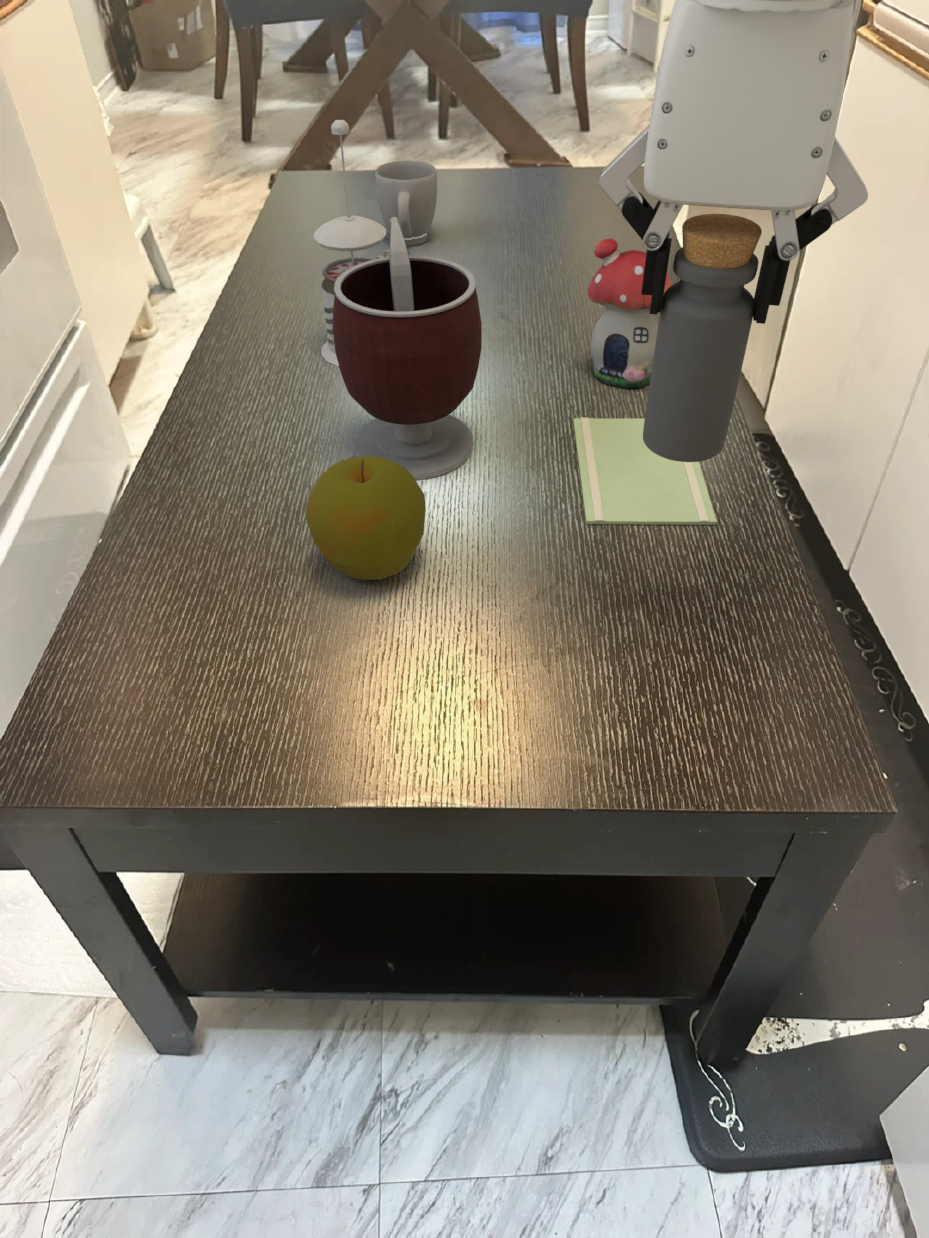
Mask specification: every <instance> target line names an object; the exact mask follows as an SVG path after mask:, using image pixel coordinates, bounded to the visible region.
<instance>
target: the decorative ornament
mask: <svg viewBox="0 0 929 1238" xmlns="http://www.w3.org/2000/svg"><path fill="white" fill-rule="evenodd" d="M618 246H619V243H618V241H617V240H615V238H605V239H602V240H601V241H599V242H598V243H597V245H596V246H595V248H594V251H593V253H594V256H595V257H596V258H598V259H601V260H602V265H601V266H600V267H599V268H598V270H597V271H596V272H595V274H594V275H593V277H592V279H590V282H589V284H588V286H587V296H588V299H589V300H590V301H591V303H595V304H597V305H598V304H599V305H602V306H603V307H605V311H604V312H603V314H602V315H601V317H600V318H599V319H598V321H597V322H596V325H595V327H594V329H593V332H592V334H591V335H592V336H591V341H590V350H591V356H592V360H593V361H592V362H593V376H594V377H595V378H597V379H598V380H600V382H603V383H604V384H606V385H609V386H613V387H617V388H621V389H627V390H628V389H639V388H641V389H642V388H643V387H645V386H647V385H650V378H651V372H652V365H653V358H654V351H655V344H656V338H657V331H658V324H657V322H656V320H655V318H654V316H653V314H650V306H651V299H652V295H641V292H642V284H643V276H644V269H645V261H646V253H647V252H645V251H643V250H637V249H630V250H626V251H623V252H620V251H618ZM672 285H673V283H672V281H671V277H670V275H669V273H668V272H667V275H666V282H665V289H664V293H665V291H666V290H667V289H668V288H669V287H670V286H672Z"/></svg>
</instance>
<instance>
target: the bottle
mask: <svg viewBox="0 0 929 1238" xmlns="http://www.w3.org/2000/svg"><path fill="white" fill-rule="evenodd" d="M761 227H762V226H760V225H759V224H758V223H756V222H755V221H754V220H751V219H748V218H746V217H743V216H739V215H735V214H727V213H705V214H698V215H695V216H691V217H689V218H688V219H686V220H684V222H682V226H681V229H682V234H681V235H682V247H680V248H678V250H677V251H676V252H675V254H674V258H673V264H672V270H673V273H674V275H675V276H677V278H679V281H677V282H675V283H672V286H670V287H669V288H668V289H667V290H666V291H665V293H664V295H663V302H662V309H661V313H659V318H658V324H657V326H658V331H657V338H656V344H655V351H654V358H653V365H652V372H651V378H650V383H649V384H648V385H649V386H648V393H647V400H646V406H645V412H644V419H645V420H644V428H643V441H644V443H645V445H646V446H647V447H648V448H649V449H650V450H651V451H652V452H653V453H655V454H657V455H659V456H661V457H664V458H666V459H669V460H674V461H680V462H699V463H700V462H704V461H705V462H706V461H707V460H711V459H713V458H714V457H717V456H718V455H719V454H720V453H721V452H722V450H723V448H724V446H725V442H726V440H727V436H728V432H729V428H730V427H729V426H730V422H731V418H732V413H733V408H734V404H735V401H736V396H737V393H738V392H737V391H738V387H739V383H740V379H741V373H742V369H743V365H744V360H745V356H746V351H747V346H748V342H749V337H750V333H751V328H752V323H753V314H754V308H755V301H754V295H752V293H751V292H750V291H749V290H748V289H746V288H745V285H748V284H750V283H752V281H754V280H755V278H756V277H757V273H758V270H759V269H758V268H759V263H760V262H759V258H758V256H757V255H756V254H755V253H754V252H755V250H756V248H757V245H758V243H759V241H760V239H761V236H762V231H763V230H762V228H761Z"/></svg>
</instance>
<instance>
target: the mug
mask: <svg viewBox="0 0 929 1238" xmlns="http://www.w3.org/2000/svg"><path fill="white" fill-rule="evenodd" d="M374 178H375V188H376V189H375V190H376V197H377V202H378V207H379V211H380V215H381V218H382V220H383V223H384V225H385V227H386V230H387V231H388V234H389V235H390V233H391V224H390V219H391V218H392V217H397V218H398V221H399V226H400V228H401V231H402V234H403V237H404V238H411V237H418V236H421V235H423V234H425V233H427V232H428V231H429V232H430V229H431V227H432V225H433V222H434V218H435V214H436V213H435V212H436V208H437V207H436V206H437V197H438V171H437V168H436V167H435V166H434V165H433V164H432V163H429V162H426V161H421V160H410V159H409V160H408V159H407V160H396V161H390V162H387V163H383V164H381V165H379V166H378V167H377V168H376V169H375V172H374ZM429 232H428V234H427V235H426V236H424V237H422V238H418V239H412V240H405V244H406V247H409V246H410V247H412V246H418V245H421V244H423V243H425V242H427V240H428V236H429ZM390 237H391V235H390Z"/></svg>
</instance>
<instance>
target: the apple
mask: <svg viewBox="0 0 929 1238" xmlns="http://www.w3.org/2000/svg"><path fill="white" fill-rule="evenodd" d="M305 511H306V512H305V516H306V522H307V526H308V528H309V529H308V530H309V531H310V535H311V539H312V541H313V544H314V545H315V546H316V548H317V550H319V553H321V555H322V556H323V557H324V558H325V559H326V561H327V562H328V563H329V564H330V565H331V566H332V567H333V568H334V570H335V571H336V572H339V573H340V574H341V575H344V576H346V577H349V578H352V579H353V578H354V579H359V580H362V581H371V580H372V581H373V580H383V579H386V578H389V577H392V576H395V575H398V574H399V573H400V572H401V571H403V570H404V569H405V568H406V567H407V566H409V564H410V562H411V560H412V559H413V556H414V555H415V553H416V550H417V549H418V547H419V545H420V543H421V540H422V539H423V536H424V535H425V524H426V511H427V509H426V495H425V493H424V492H423V490H422V488H421V486H420V485H419V484H418V481H417V479H415V478H414V477H413V476H412V475H411V474H410V472H409V471H408V470H407V469H406V468H405V467H403V466H401V465H399V464H397V463H395V462H393V461H391V460H388V459H385V458H382V457H376V456H360V457H357V456H352V457H349V458H346V459H342V460H339V461H338V462H336V463H334V464H332V465H331V466H330V467H328V468H327V469H326V470H325V471H324V472H323V473H322V474H321V475H320V476H319V477H318V479H317V480H316V481H315V483H314V485H313V486H312V489H311V491H310V494H309V496H308V500H307V501H306V504H305Z"/></svg>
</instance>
